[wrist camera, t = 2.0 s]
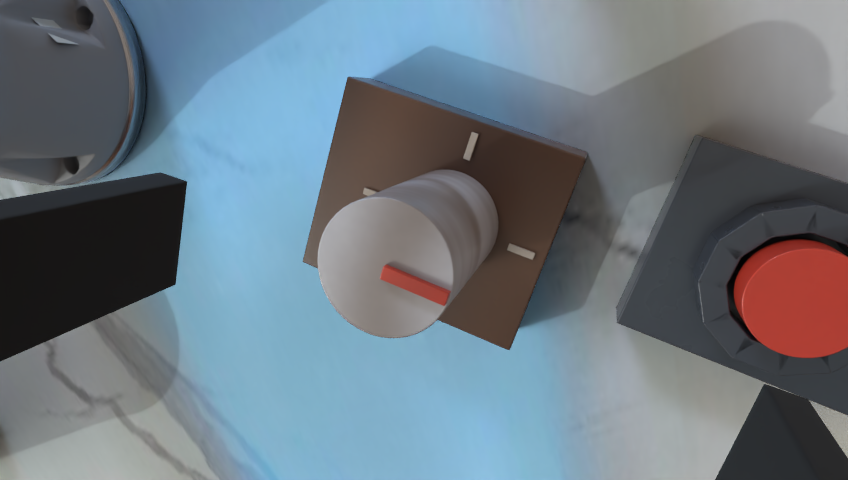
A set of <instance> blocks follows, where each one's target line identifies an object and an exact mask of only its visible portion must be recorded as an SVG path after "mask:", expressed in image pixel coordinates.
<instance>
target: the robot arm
mask: <svg viewBox="0 0 848 480" xmlns="http://www.w3.org/2000/svg"><path fill="white" fill-rule="evenodd" d="M145 98H146V82H145V71H144V64H143V58H142V54H141V49H140V46H139V43H138V39H137V36H136V34H135V31H134V28H133V26H132V24H131V22H130V20H129V17H128V15H127V14H126V12H125V10H124V8H123V6H122V5H121V3H120V2H119V0H0V178H6V179H11V180H17V181H22V182H28V183H34V184H40V185H71V184H78V183H84V182H89V181H93V180H96V179H99V178H101V177H103V176H105V175H107V174H108V173H110V172H111V171H113V170H114V169H115V168H116V167H117V166H118V165H119V164H120V163H121V162H122V161H123V160H124V159H125V157H126V156H127V155H128V153H129V152H130V150H131V148H132V147H133V145H134V143H135V141H136V139H137V136H138V133H139V130H140V127H141V123H142V120H143V114H144V109H145ZM186 186H187V182H186V181H184V180H181V179H178V178H175V177H172V176H169V175H166V174H164V173H155V174H149V175H143V176H137V177H132V178H126V179H120V180H114V181H108V182H102V183H97V184H91V185H85V186H79V187H73V188H67V189H62V190H56V191H50V192H44V193H38V194H32V195H27V196H21V197H15V198H9V199H3V200H0V361H2V360H5V359H7V358H9V357H11V356H14V355H16V354H18V353H21V352H23V351H25V350H27V349H30V348H32V347H34V346H36V345H39V344H41V343H43V342H46V341H48V340H50V339H52V338H55V337H57V336H59V335H61V334H64V333H66V332H68V331H71V330H73V329H75V328H77V327H80V326H82V325H84V324H87V323H89V322H91V321H93V320H96V319H98V318H100V317H102V316H105V315H107V314H109V313H112V312H114V311H116V310H118V309H121V308H123V307H125V306H128V305H130V304H132V303H134V302H137V301H139V300H141V299H143V298H146V297H148V296H150V295H153V294H155V293H157V292H159V291H162V290H164V289H166V288H168V287H171V286H173V285H175V283H176V275H177V266H178V257H179V248H180V239H181V230H182V222H183V213H184V204H185V195H186ZM715 480H848V458H847V457H846V455H845V454H844V452H843V451H842V449H841V448H840V446H839V445H838V443H837V442H836V440H835V439H834V437H833V436H832V434H831V433H830V431H829V430H828V428H827V427H826V426H825V424H824V423H823V421H822V420H821V418H820V417H819V415H818V414H817V412H816V411H815V409H814V408H813V406H812V405H811V403H810V402H809V400H808V399H806V398H803V397H800V396H797V395H794V394H791V393H789V392H786V391H783V390H780V389H777V388H774V387H772V386H769V385H766V384H764V386H763V388H762V389H761V391H760V393H759V395H758V397H757V399H756V401H755V403H754V405H753V407H752V409H751V411H750V413H749V415H748V417H747V419H746V421H745V423H744V425H743V427H742V429H741V430H740V432H739V434H738V436H737V438H736V440H735V442H734V444H733V446H732V448H731V450H730V452H729V454H728V456H727V458H726V460H725V462H724V464H723V466H722V468H721V469H720V471H719V473H718V475H717V477H716V479H715Z"/></svg>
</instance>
